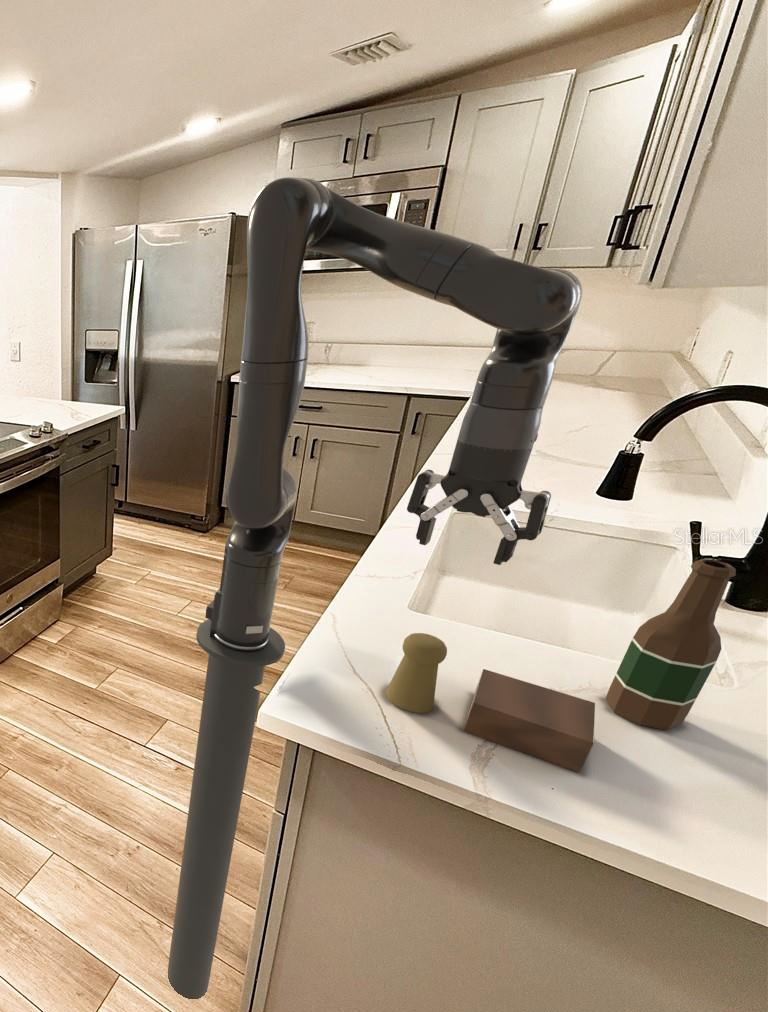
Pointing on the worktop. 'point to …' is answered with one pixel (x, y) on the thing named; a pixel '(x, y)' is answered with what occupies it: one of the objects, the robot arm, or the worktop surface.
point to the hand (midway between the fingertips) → (460, 552)
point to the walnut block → (532, 719)
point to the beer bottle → (672, 653)
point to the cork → (417, 673)
